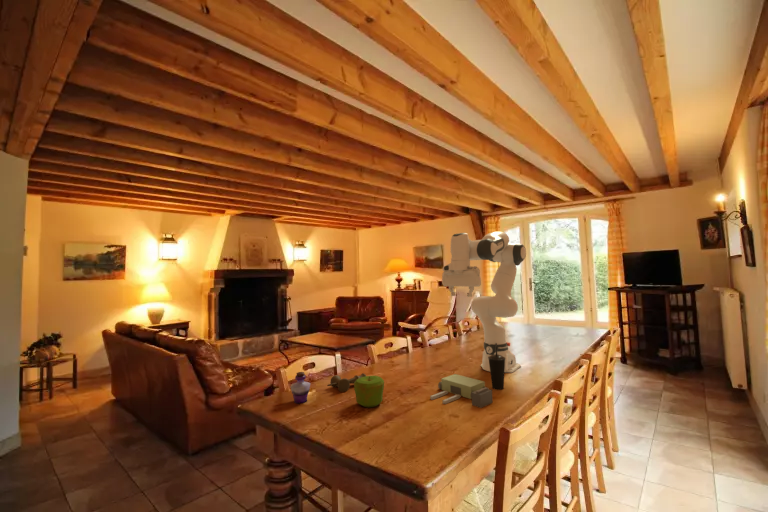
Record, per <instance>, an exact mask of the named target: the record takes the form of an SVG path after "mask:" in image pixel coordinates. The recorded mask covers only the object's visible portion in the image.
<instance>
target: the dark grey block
mask: <svg viewBox="0 0 768 512" xmlns="http://www.w3.org/2000/svg"><path fill="white" fill-rule="evenodd" d="M486 387H487V386H485V388H482V389H479V390H477V391H475V392H472V399H471V404H472V406H473V407H477V408H479V409H482V408H483V407H486V406H488V405H490V404H492V403H493V390H492V389H488V388H489V387H487V388H486Z"/></svg>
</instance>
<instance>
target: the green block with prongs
mask: <svg viewBox="0 0 768 512" xmlns="http://www.w3.org/2000/svg"><path fill="white" fill-rule="evenodd" d="M437 387H438V388H437V389H440V390H441V391H440V392H438V393H435V394H433V395H429V398H430V400H432V401H433V400H436V399H438V398H441V397H443V396H446V395H448V394H449V393H450V394H454V395H452V396H450V397H448V398H444V399H443V400H442V404H444V405H447V404H448V403H451V402H453V401H457V400H458V399H461V397H463V398H466V399H470V400H472V392H475V391H477V390H479V389H482V388H485V387H486V388H488V389H489V387H487V386H486V382H485V381H484V380H479V379H476V378H473V377H468V376H464V375H462V374H456V373H454V374H452V375H451V374H450V375H448V376H445V377H442V378H441V379H440V381H439V382H438V384H437ZM489 390H490V389H489Z"/></svg>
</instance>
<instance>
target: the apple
mask: <svg viewBox="0 0 768 512" xmlns="http://www.w3.org/2000/svg"><path fill="white" fill-rule="evenodd" d="M384 388H385V381H384V379H383V378H382V377H381V376H379V375H366V376H365V377H361V378H358V379H357V380H356V381H355V382H354V384H353V389H354V394H355V399H356V403H357V404H358V405H360V406H361V407H365V408H375V407H378V405H380V404H381V403H382V401H383V400H384V399H383V398H384V396H383V394H384Z"/></svg>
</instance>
